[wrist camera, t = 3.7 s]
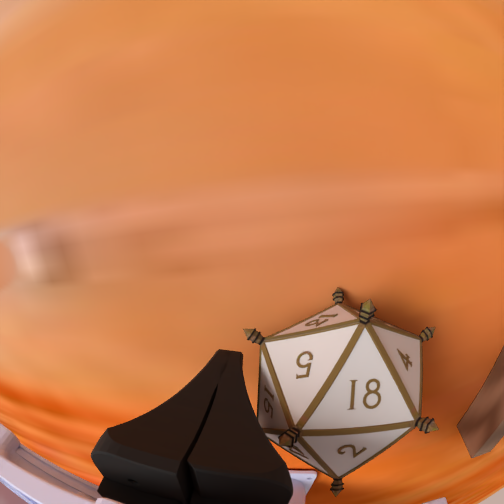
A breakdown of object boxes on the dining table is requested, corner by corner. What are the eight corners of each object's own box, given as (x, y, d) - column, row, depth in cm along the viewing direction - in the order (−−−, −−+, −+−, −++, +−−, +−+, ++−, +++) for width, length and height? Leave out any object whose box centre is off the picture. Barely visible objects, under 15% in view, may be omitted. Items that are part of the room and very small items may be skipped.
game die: (343, 282, 17) (497, 292, 8) (332, 405, 17) (455, 462, 8) (203, 283, 13) (375, 322, 5) (204, 436, 13) (312, 568, 4)
